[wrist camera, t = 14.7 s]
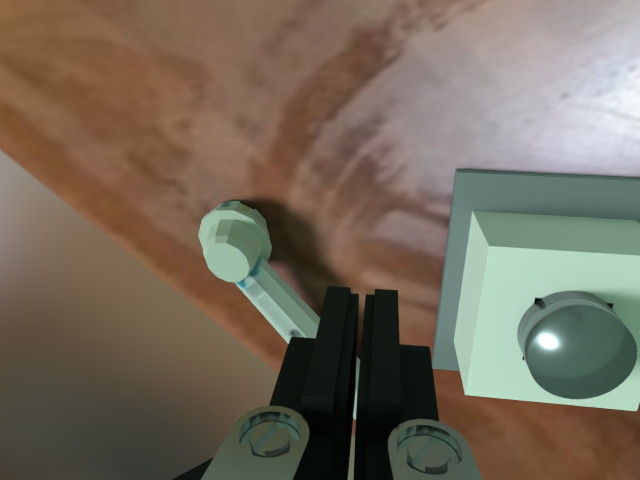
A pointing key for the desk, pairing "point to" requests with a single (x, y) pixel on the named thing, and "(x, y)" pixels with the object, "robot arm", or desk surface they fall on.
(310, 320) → the white flashlight
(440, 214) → the desk surface
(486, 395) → the hitch block
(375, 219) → the desk surface
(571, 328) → the steel pin
